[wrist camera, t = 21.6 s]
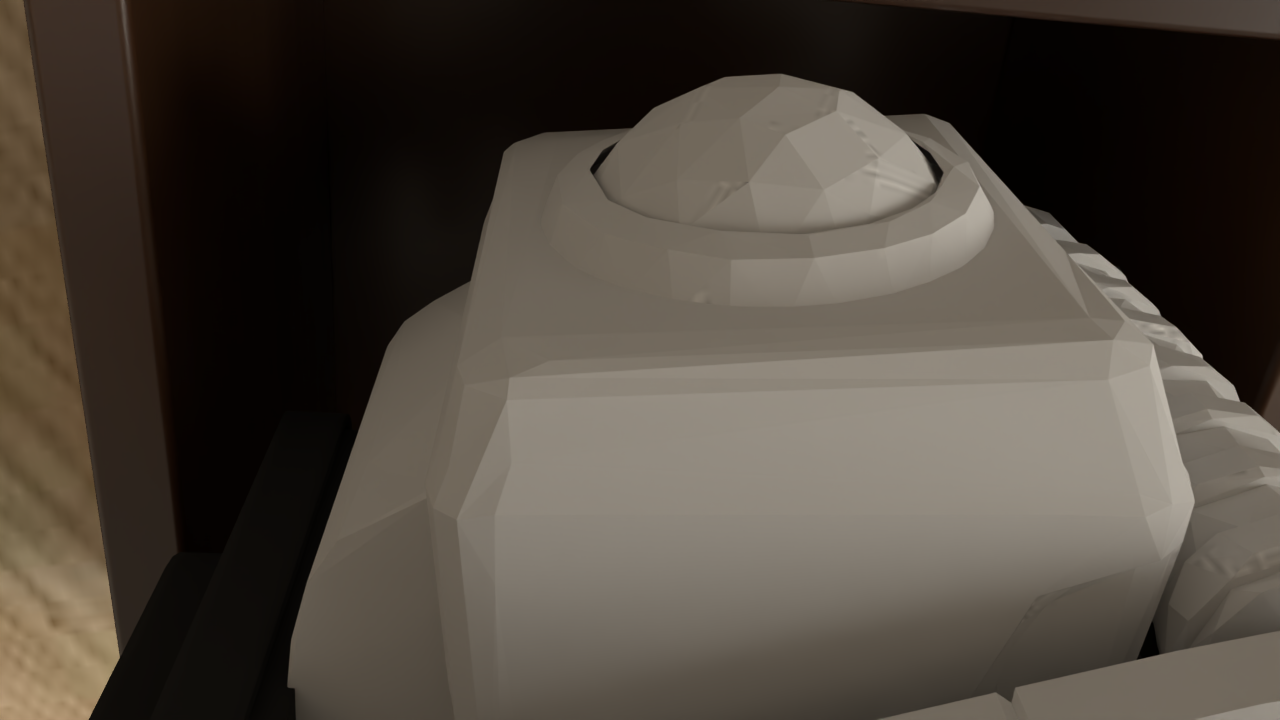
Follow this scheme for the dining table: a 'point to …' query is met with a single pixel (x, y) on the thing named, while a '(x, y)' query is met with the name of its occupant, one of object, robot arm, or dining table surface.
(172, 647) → the robot arm
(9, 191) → the dining table surface
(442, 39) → the chest
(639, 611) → the grey knobbed block
